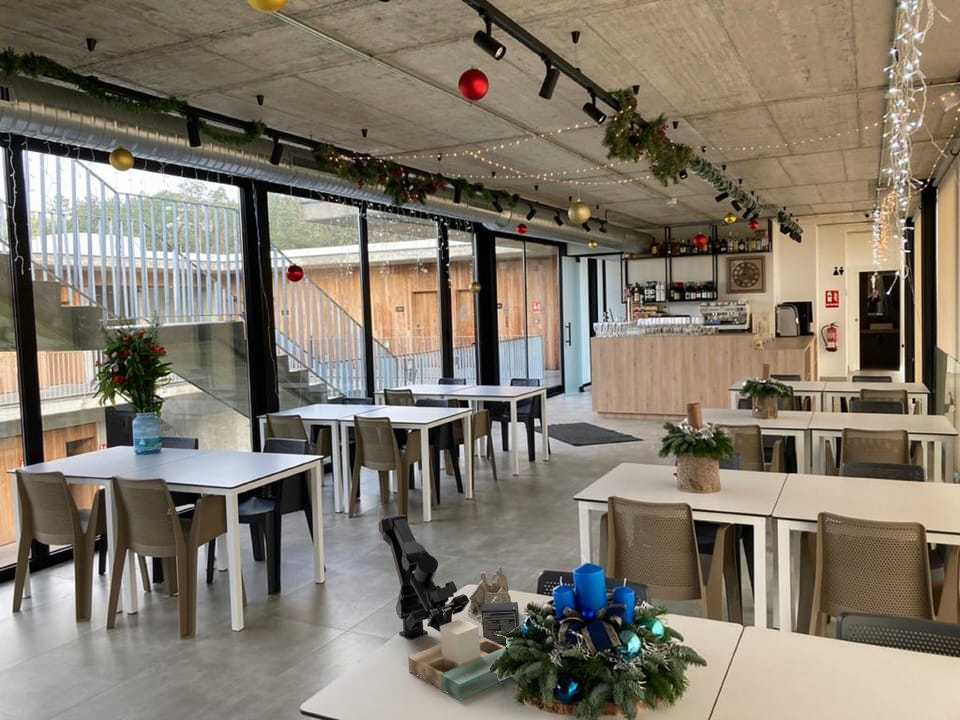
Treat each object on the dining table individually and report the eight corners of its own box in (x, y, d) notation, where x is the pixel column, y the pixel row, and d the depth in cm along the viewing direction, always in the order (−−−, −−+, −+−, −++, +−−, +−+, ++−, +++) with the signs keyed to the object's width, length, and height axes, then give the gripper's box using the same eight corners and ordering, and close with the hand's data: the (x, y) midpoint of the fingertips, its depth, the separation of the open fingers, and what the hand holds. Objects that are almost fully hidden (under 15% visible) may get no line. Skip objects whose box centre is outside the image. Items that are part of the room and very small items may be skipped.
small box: (520, 635, 224) (518, 600, 224) (519, 645, 218) (517, 609, 217) (485, 636, 225) (482, 602, 225) (483, 646, 219) (480, 610, 218)
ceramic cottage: (475, 604, 252) (473, 560, 250) (522, 610, 245) (520, 565, 244) (456, 625, 237) (453, 579, 236) (505, 632, 231) (503, 585, 229)
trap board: (408, 671, 206) (407, 656, 205) (472, 645, 219) (471, 631, 219) (460, 700, 188) (459, 684, 188) (526, 670, 202) (525, 655, 201)
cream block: (442, 655, 205) (439, 626, 205) (463, 647, 209) (461, 618, 209) (459, 664, 199) (456, 634, 198) (480, 656, 203) (478, 626, 202)
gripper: (408, 583, 205) (435, 634, 197) (463, 565, 217) (490, 613, 209) (395, 604, 212) (420, 655, 203) (448, 587, 223) (474, 634, 215)
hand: (452, 638), depth 207 cm, fingers closed, pressing on cream block
